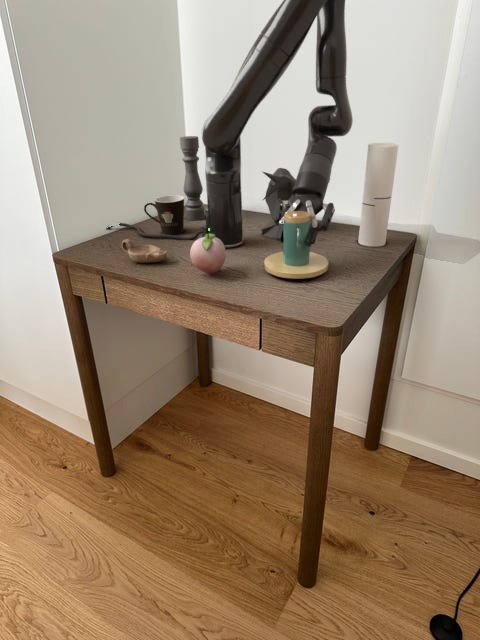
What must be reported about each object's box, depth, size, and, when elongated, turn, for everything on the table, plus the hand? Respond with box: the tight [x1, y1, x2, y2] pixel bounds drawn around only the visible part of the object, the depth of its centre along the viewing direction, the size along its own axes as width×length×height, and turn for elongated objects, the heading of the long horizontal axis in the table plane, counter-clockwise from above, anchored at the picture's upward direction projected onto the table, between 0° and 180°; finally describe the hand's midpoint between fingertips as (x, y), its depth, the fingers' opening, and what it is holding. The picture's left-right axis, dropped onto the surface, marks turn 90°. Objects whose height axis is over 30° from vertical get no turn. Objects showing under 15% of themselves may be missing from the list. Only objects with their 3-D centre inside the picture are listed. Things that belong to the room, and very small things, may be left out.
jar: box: [263, 211, 329, 279], centre depth 105 cm, size 15×15×12 cm
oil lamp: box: [120, 238, 168, 264], centre depth 117 cm, size 13×8×5 cm, turn 61°
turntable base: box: [273, 275, 318, 282], centre depth 108 cm, size 12×12×1 cm
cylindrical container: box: [357, 142, 399, 248], centre depth 119 cm, size 7×7×25 cm
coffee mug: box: [143, 194, 185, 236], centre depth 137 cm, size 12×9×10 cm
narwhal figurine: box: [261, 167, 296, 240], centre depth 133 cm, size 14×15×18 cm
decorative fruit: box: [189, 233, 227, 275], centre depth 106 cm, size 9×8×10 cm
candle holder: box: [179, 135, 206, 222], centre depth 146 cm, size 6×6×25 cm
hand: (294, 243), depth 104 cm, fingers closed on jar, 6 cm apart
